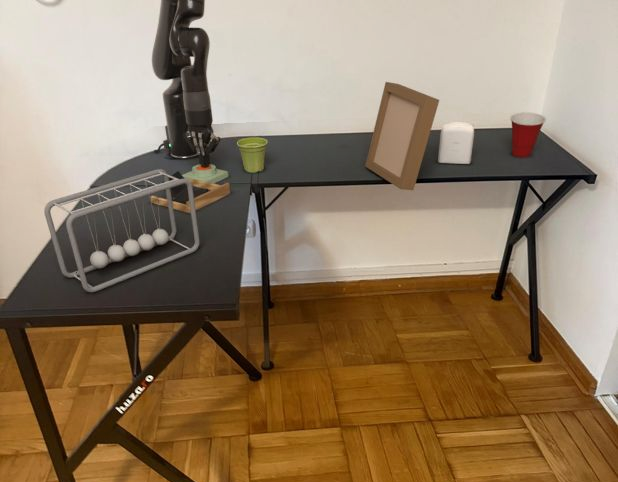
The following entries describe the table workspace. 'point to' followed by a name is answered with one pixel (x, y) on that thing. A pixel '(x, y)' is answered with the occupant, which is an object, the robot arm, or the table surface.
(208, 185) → the wooden frame
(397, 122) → the photo frame
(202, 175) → the switch box
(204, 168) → the power button
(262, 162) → the plant pot
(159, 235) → the newton's cradle
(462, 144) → the photo printer
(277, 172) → the table surface
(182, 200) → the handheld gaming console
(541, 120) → the plastic cup
